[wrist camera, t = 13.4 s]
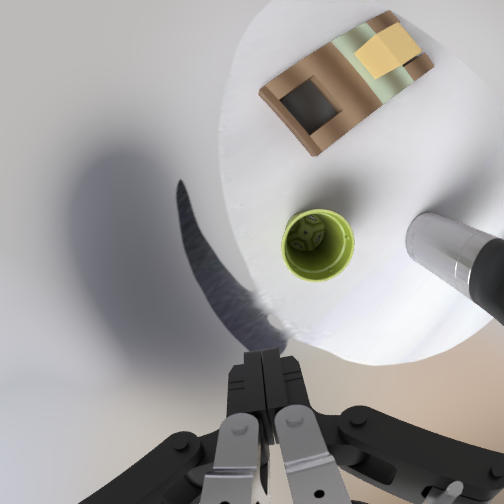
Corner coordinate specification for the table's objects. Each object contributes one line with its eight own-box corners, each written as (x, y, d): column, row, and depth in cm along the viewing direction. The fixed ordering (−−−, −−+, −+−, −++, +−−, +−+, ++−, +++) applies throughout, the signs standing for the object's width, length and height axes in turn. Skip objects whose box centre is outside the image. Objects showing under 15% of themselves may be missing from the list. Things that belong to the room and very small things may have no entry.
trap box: (312, 156, 40) (317, 155, 37) (258, 94, 37) (259, 89, 34) (425, 70, 35) (434, 66, 32) (382, 16, 32) (389, 10, 29)
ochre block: (375, 79, 34) (401, 65, 26) (353, 53, 32) (375, 34, 25) (395, 65, 33) (422, 51, 25) (374, 40, 32) (398, 22, 24)
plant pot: (289, 189, 41) (300, 196, 33) (344, 215, 43) (366, 227, 34) (264, 247, 44) (269, 267, 36) (318, 268, 45) (334, 291, 37)
